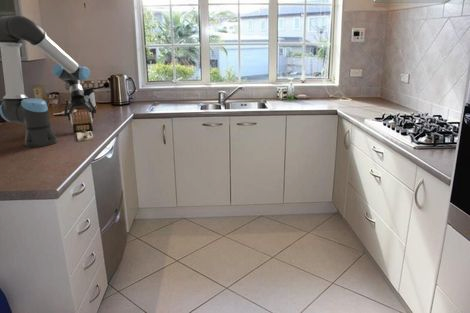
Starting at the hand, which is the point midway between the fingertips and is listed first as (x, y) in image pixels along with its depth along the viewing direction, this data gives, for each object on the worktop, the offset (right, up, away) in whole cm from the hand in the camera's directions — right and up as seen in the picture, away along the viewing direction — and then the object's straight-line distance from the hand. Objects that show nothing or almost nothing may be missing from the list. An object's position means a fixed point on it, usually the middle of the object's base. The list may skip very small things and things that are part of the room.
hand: (82, 123), depth 225 cm
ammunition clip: (-1, -5, +4) cm, 6 cm away
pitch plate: (+5, -8, -9) cm, 14 cm away
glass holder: (-31, +21, +91) cm, 99 cm away
